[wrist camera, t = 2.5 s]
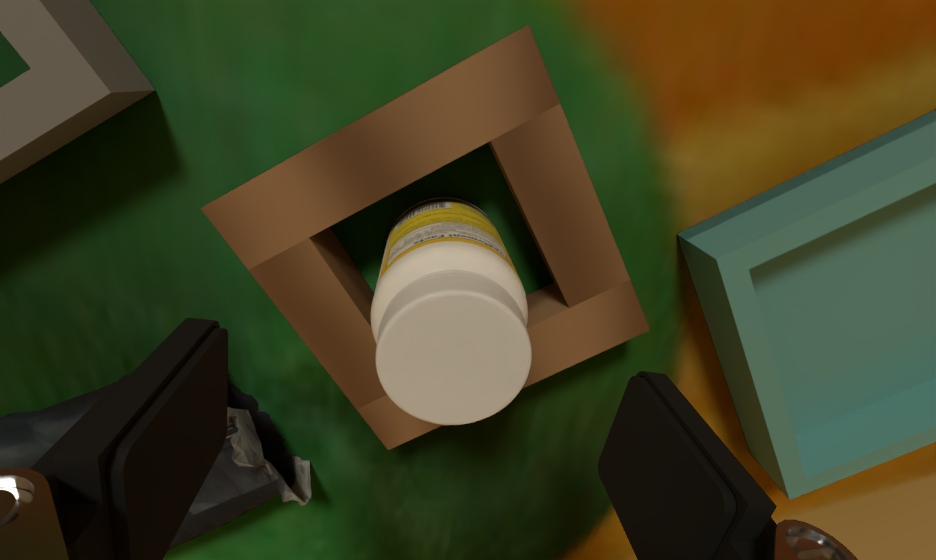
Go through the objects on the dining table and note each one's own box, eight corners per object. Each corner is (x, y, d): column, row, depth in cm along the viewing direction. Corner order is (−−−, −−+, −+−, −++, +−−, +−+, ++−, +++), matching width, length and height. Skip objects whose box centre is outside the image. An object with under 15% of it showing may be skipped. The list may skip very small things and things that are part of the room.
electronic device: (212, 297, 22) (-96, 449, 21) (180, 372, 17) (-221, 571, 16) (320, 424, 26) (71, 551, 26) (319, 511, 22) (13, 668, 21)
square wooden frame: (515, 31, 17) (528, 24, 14) (626, 302, 21) (650, 330, 19) (229, 191, 18) (200, 208, 16) (392, 412, 23) (388, 450, 20)
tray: (1017, 69, 18) (1121, 69, 16) (1019, 342, 24) (1096, 377, 21) (677, 234, 20) (716, 259, 17) (750, 453, 25) (789, 499, 23)
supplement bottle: (470, 318, 21) (494, 460, 13) (369, 279, 20) (330, 408, 12) (521, 222, 19) (581, 319, 12) (413, 174, 18) (402, 246, 11)
